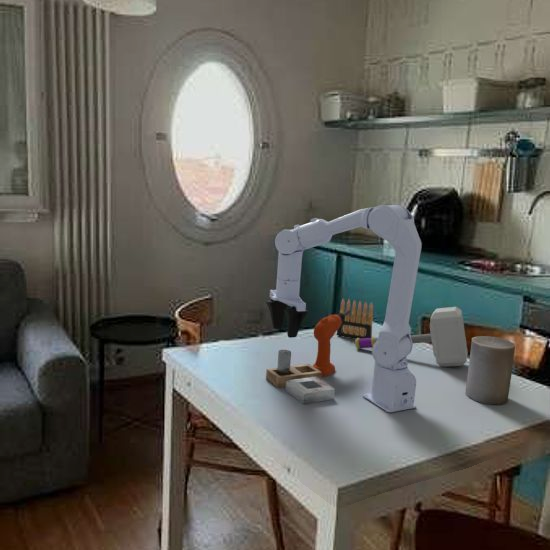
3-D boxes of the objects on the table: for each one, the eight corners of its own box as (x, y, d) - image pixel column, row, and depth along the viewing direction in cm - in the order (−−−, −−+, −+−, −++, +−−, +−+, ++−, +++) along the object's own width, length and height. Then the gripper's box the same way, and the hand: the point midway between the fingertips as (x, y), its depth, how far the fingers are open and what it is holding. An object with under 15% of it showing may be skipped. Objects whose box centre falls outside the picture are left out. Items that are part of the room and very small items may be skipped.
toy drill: (355, 354, 155) (358, 302, 151) (324, 381, 140) (326, 325, 135) (339, 350, 157) (341, 299, 153) (307, 376, 142) (308, 321, 138)
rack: (308, 373, 142) (309, 363, 142) (321, 381, 137) (322, 372, 137) (265, 378, 136) (266, 369, 136) (277, 387, 131) (278, 377, 131)
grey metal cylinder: (291, 383, 135) (293, 353, 133) (279, 384, 133) (281, 354, 132) (285, 378, 137) (287, 349, 136) (274, 379, 136) (276, 350, 135)
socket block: (334, 399, 127) (334, 389, 126) (303, 404, 123) (304, 393, 123) (315, 386, 134) (315, 376, 133) (285, 390, 130) (286, 380, 130)
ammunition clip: (371, 340, 174) (375, 302, 172) (370, 341, 173) (374, 303, 170) (337, 334, 178) (341, 297, 176) (336, 335, 176) (339, 298, 174)
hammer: (349, 321, 160) (459, 311, 149) (355, 315, 168) (461, 305, 156) (357, 373, 162) (467, 366, 151) (363, 364, 169) (468, 358, 158)
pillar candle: (511, 396, 136) (519, 336, 133) (503, 409, 128) (512, 345, 125) (470, 386, 141) (477, 328, 138) (460, 398, 133) (467, 336, 130)
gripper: (260, 273, 142) (257, 325, 144) (288, 285, 129) (284, 342, 132) (285, 272, 145) (281, 323, 148) (315, 284, 133) (310, 340, 135)
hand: (284, 332), depth 140 cm, fingers open, 7 cm apart
